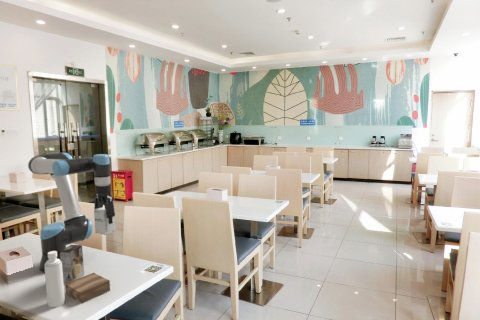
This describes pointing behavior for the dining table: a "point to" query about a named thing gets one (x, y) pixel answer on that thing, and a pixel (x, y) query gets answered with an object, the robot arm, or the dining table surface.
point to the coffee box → (72, 262)
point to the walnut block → (87, 287)
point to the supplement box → (102, 221)
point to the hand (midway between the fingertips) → (105, 227)
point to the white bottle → (54, 280)
